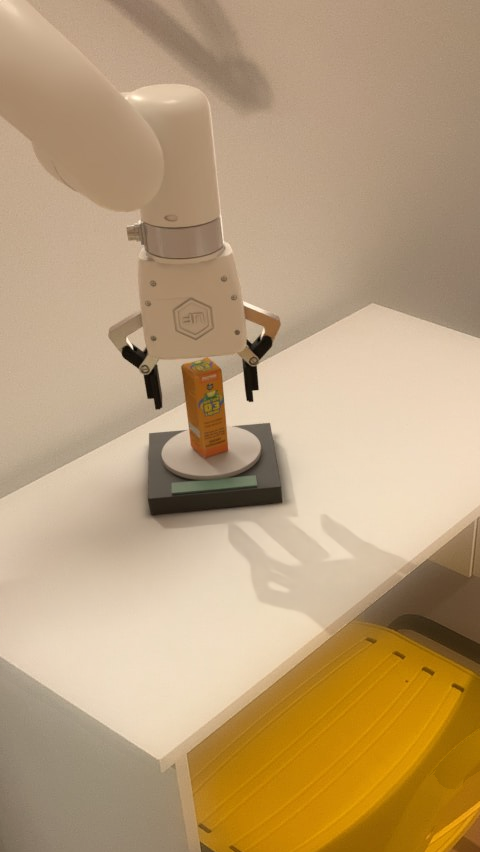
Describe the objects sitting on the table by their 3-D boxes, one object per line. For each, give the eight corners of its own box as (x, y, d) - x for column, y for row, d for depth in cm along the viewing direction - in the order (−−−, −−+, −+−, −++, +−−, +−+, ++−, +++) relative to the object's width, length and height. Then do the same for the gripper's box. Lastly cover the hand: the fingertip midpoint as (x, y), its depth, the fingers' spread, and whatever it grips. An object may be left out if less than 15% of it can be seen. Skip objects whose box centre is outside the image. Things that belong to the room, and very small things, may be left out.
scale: (150, 515, 102) (146, 494, 100) (151, 448, 112) (148, 428, 110) (282, 502, 103) (280, 481, 101) (271, 437, 114) (269, 417, 112)
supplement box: (204, 460, 105) (192, 375, 98) (190, 447, 107) (178, 363, 100) (231, 451, 106) (221, 366, 99) (217, 438, 108) (206, 355, 102)
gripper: (88, 255, 87) (121, 423, 99) (277, 243, 89) (288, 410, 101) (93, 227, 93) (123, 390, 104) (271, 217, 95) (281, 377, 106)
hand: (204, 399), depth 103 cm, fingers open, 9 cm apart
